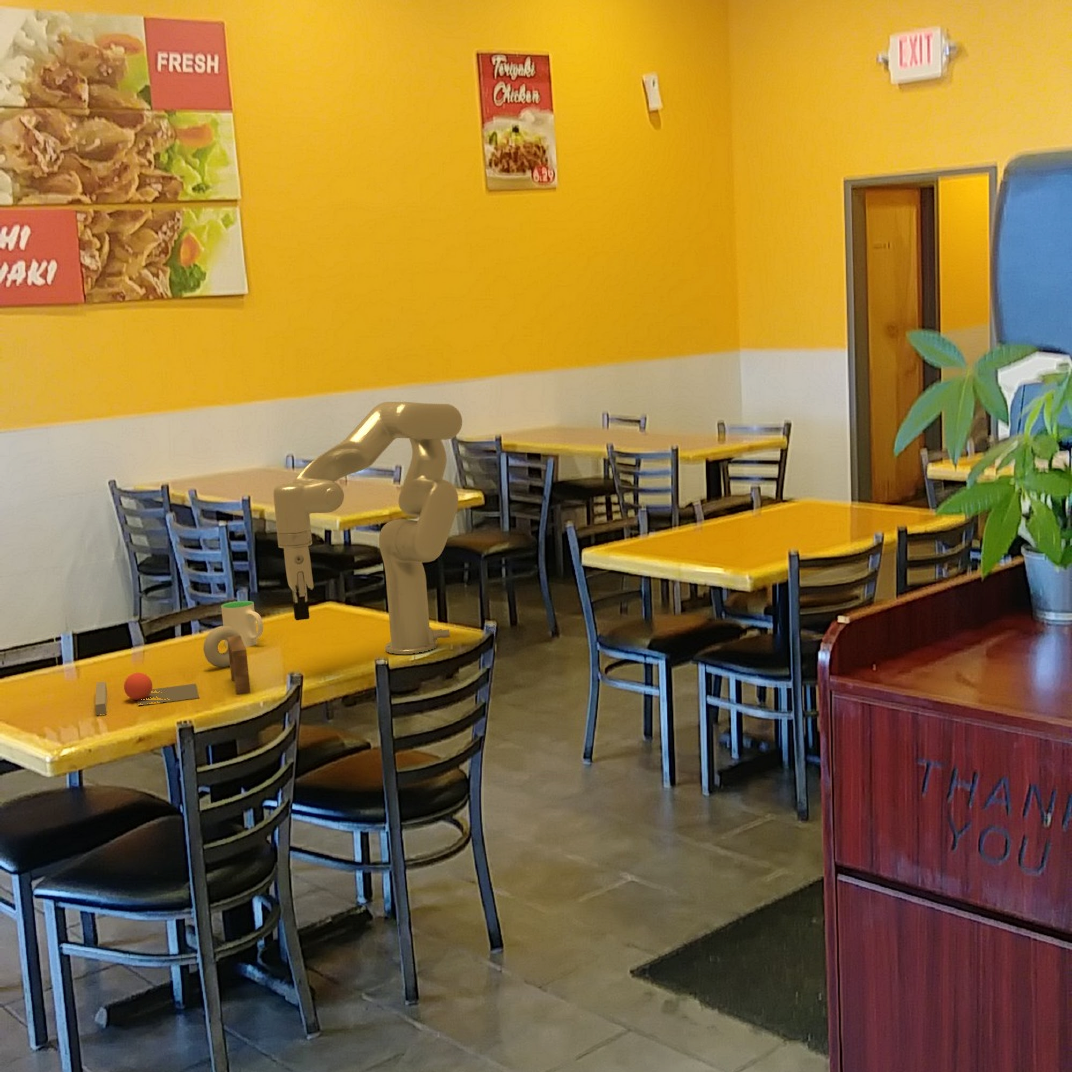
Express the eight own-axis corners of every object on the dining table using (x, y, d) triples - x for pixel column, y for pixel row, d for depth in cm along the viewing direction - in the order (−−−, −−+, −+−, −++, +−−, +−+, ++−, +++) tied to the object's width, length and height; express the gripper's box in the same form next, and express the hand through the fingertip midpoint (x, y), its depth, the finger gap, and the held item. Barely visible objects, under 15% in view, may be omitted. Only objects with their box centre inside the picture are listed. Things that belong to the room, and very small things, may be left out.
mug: (275, 643, 358) (271, 602, 356) (253, 650, 351) (249, 609, 349) (241, 639, 364) (237, 600, 362) (218, 646, 357) (214, 606, 356)
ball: (157, 684, 314) (140, 664, 313) (158, 691, 309) (141, 670, 307) (135, 701, 313) (118, 681, 312) (135, 708, 308) (118, 687, 306)
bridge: (244, 676, 325) (240, 635, 323) (250, 692, 310) (246, 649, 309) (231, 678, 324) (227, 637, 322) (236, 694, 310) (232, 651, 308)
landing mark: (195, 684, 321) (195, 683, 321) (199, 698, 308) (199, 697, 308) (136, 692, 317) (136, 691, 317) (137, 706, 305) (137, 705, 305)
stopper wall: (107, 692, 319) (105, 681, 318) (106, 714, 300) (105, 703, 300) (97, 693, 318) (96, 682, 318) (96, 716, 299) (95, 704, 299)
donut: (210, 672, 331) (205, 631, 330) (202, 670, 334) (198, 629, 332) (247, 663, 338) (243, 622, 336) (239, 661, 340) (235, 621, 339)
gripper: (315, 542, 310) (323, 623, 313) (307, 533, 324) (314, 610, 327) (281, 545, 308) (289, 627, 311) (274, 536, 322) (281, 614, 325)
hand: (302, 618), depth 319 cm, fingers closed
